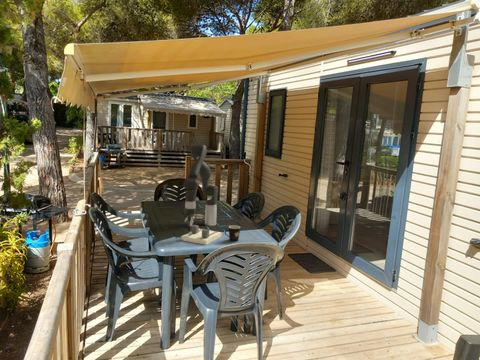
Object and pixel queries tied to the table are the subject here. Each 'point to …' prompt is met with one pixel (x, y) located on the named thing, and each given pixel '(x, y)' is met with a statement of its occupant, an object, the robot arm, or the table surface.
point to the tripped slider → (195, 229)
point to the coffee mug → (233, 233)
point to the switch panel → (199, 239)
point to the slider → (205, 233)
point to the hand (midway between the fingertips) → (189, 230)
